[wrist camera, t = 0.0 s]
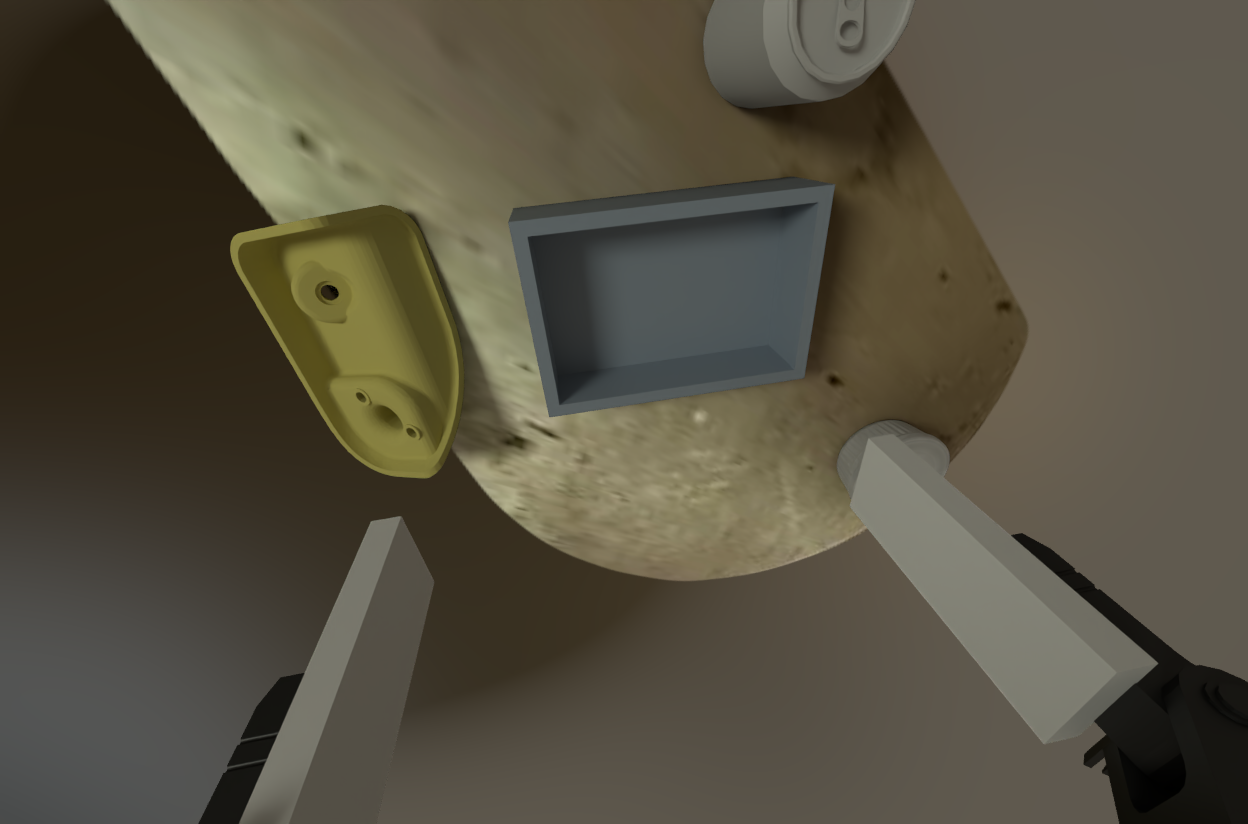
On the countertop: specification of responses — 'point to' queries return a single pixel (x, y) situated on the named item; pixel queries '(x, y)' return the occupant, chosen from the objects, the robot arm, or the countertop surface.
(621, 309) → the bin
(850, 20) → the can
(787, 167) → the countertop surface
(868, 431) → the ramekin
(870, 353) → the countertop surface
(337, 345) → the plastic component
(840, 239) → the countertop surface
